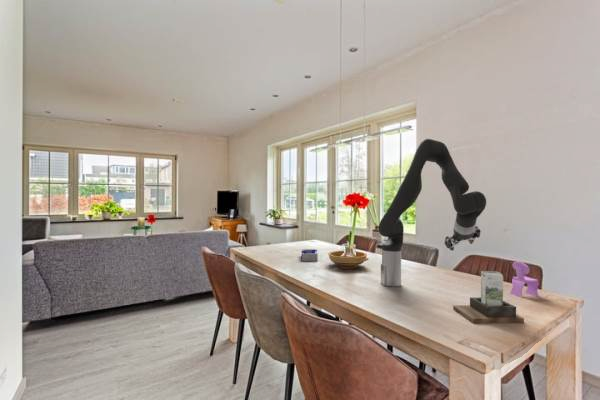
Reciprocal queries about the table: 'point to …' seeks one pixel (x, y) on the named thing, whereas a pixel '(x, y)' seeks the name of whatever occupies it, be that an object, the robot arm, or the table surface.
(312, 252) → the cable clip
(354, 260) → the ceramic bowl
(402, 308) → the table surface
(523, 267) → the toy chair
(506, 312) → the socket block
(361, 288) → the table surface
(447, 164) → the robot arm
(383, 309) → the table surface
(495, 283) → the syrup box
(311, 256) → the desk tidy
